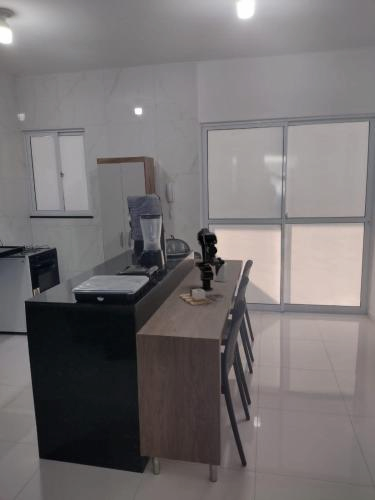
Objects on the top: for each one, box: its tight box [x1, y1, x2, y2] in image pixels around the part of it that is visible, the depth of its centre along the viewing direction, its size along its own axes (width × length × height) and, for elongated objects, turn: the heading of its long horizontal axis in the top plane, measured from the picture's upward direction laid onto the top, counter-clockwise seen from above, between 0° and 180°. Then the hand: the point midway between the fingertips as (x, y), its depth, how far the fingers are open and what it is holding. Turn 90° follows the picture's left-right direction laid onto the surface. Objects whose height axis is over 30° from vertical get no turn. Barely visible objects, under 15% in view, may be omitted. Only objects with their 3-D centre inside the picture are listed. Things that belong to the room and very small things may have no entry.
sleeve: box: [192, 288, 206, 302], centre depth 225 cm, size 6×6×6 cm
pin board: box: [179, 287, 213, 306], centre depth 230 cm, size 20×13×6 cm, turn 23°
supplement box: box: [214, 262, 229, 283], centre depth 276 cm, size 7×7×13 cm
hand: (210, 276), depth 239 cm, fingers open, 9 cm apart
